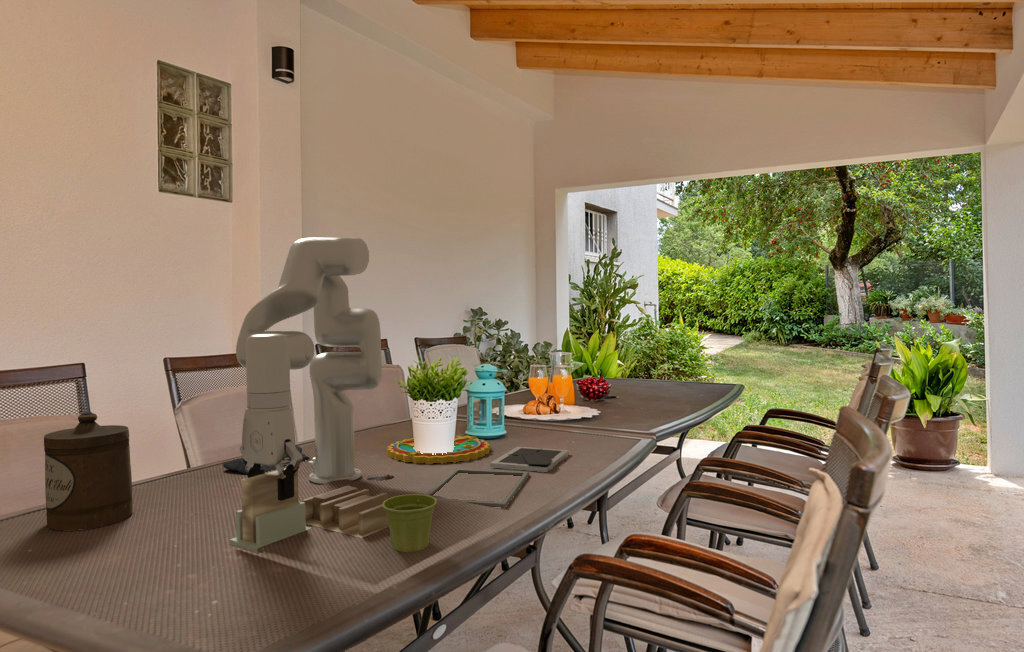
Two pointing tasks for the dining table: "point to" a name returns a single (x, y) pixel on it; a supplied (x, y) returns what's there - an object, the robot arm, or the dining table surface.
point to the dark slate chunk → (240, 465)
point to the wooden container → (87, 475)
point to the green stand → (272, 527)
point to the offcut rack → (350, 514)
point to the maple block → (262, 500)
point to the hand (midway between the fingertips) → (271, 494)
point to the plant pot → (409, 521)
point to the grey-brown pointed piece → (530, 459)
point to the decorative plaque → (462, 452)
